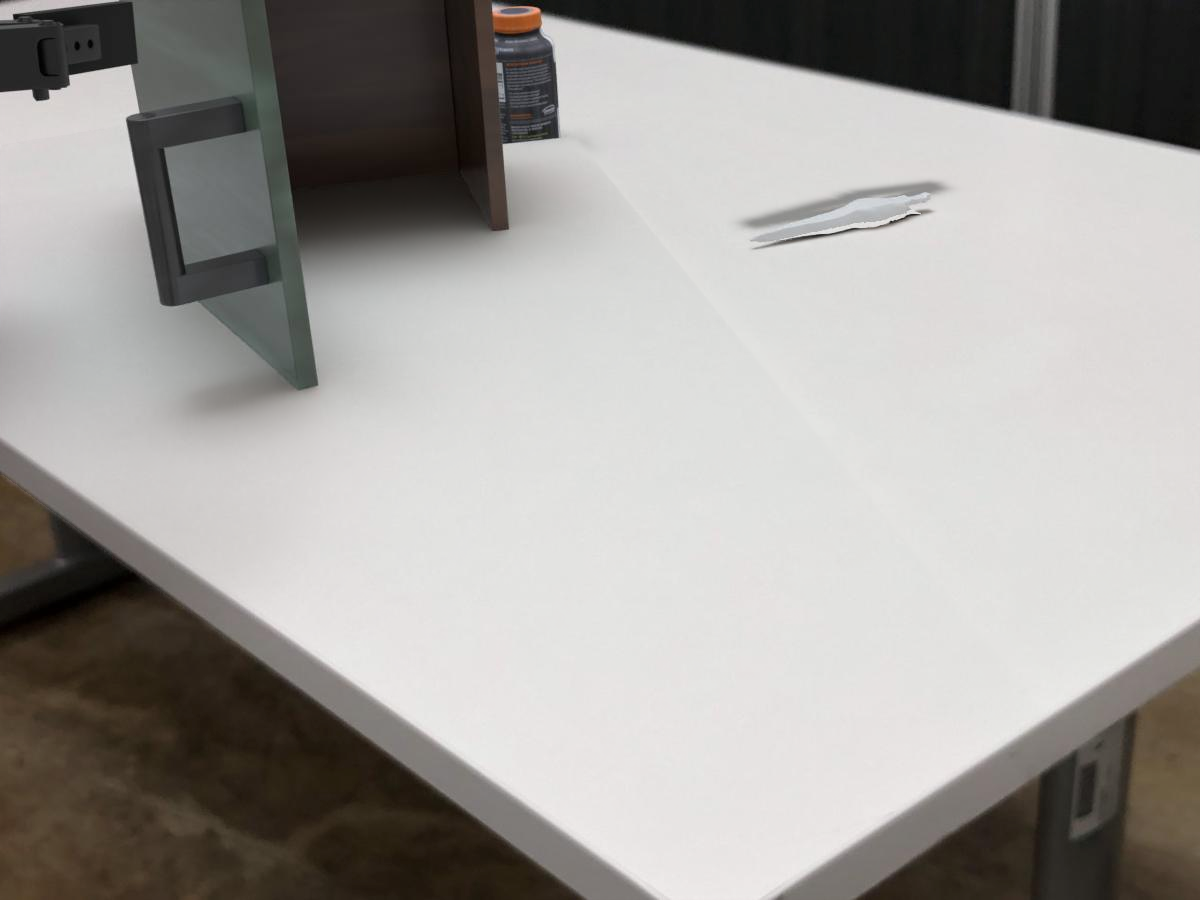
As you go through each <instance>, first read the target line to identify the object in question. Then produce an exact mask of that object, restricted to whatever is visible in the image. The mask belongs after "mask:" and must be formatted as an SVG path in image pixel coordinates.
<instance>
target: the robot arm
mask: <svg viewBox="0 0 1200 900" xmlns="http://www.w3.org/2000/svg"><path fill="white" fill-rule="evenodd" d="M132 64H138V56H137V45H136V34H135V24H134V13H133V2H126V1H119V0H117V1H116V0H115V1H108V2H100V3H92V4H83V5H75V6H68V7H67V6H65V7H59V8H50V9H43V10H35V11H34V10H33V11H27V12H19V13H12V19H0V93H10V92H11V93H12V92H22V91H31V94H32V98H33V99H34V101H35V102H43V101H49V100H50V98H51V97H50V91H60V90H62V89H66V88H68V87H70V86H71V81H70V76H75V75H81V74H86V73H92V72H97V71H98V72H99V71H102V70H103V71H104V70H108V69H114V68H120V67H126V66H131V65H132Z"/></svg>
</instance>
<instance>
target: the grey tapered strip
mask: <svg viewBox="0 0 1200 900" xmlns="http://www.w3.org/2000/svg"><path fill="white" fill-rule="evenodd" d="M928 201H931V193H929V192H926V191H923V192H922V193H920V194H919V193H918V194H916V195H911V196H909V195H905V194H903V195H899V196H890V197H885V198H883V197H863V198H857V199H854V200H851V202H849V203H847V204H846V205H843V206H841V207H839V208H836V209H833V210H831V211H828V212H823V213H821V214H817V215H815V216H812V217H808V218H804V219H800V220H797V221H793V222H791V223H787V224H784V225H781V226H777V227H775V228H773V229H769V230H766V231H764V232H761V233H758V234H756V235H754V236H753V237H751V238H749V241H750V242H754V243H771V242H770V241H773V242H778V241H777V240H780V239H784V238H790V237H794V236H798V235H802V234H807V233H811V232H818V231H822V230H827V229H830V228H832V229H833V228H836V227H841V226H846V225H850V224H853V223H861V222H864V223H866V222H876V221H882V220H886V219H888V218H890V217H893V216H896V215H901V214H904V213H905V214H906V213H907V211H909V210H911V209H912V208H911V207H910V206H914V205H919V204H925V203H927V202H928ZM774 240H776V241H774Z"/></svg>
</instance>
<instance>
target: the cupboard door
mask: <svg viewBox="0 0 1200 900" xmlns="http://www.w3.org/2000/svg"><path fill="white" fill-rule="evenodd" d="M118 1H126V2H133V13H134V24H135V34H136V45H137V56H138V64H132V65H130V68H131V69H130V70H131V74H132V79H133V84H134V90H135V95H136V101H137V107H138V113H133V114H130V115H127V117H126V118H125V123H126V129H127V135H128V139H129V145H130V150H131V156H132V161H133V167H134V171H135V177H136V182H137V187H138V192H139V193H138V194H139V197H140V204H141V210H142V214H143V219H144V220H143V221H144V226H145V230H146V236H147V240H148V246H149V251H150V257H151V262H152V263H151V264H152V267H153V272H154V273H153V274H154V278H155V284H156V289H157V295H158V299H159V303H160V304H161V306H163V307H179V306H184V305H187V304H192V303H196V302H198V303H199V304H200V305H202V307H203V308H205V310H207V311H208V312H209V313H210V314H211V315H212V316H213V317H215V318H216V319H217V320H218V321H219V322H220V323H222V324H223V325H224V326H225V327H226V328H227V329H229V330H230V332H232V333H233V334H234V335H235V336H236V337H238V338H239V340H241V342H243V343H244V344H245V345H246V346H248V347H249V348H250V349H251V350H252V351H253V352H254V353H255V354H256V355H257V356H258V357H260V358H261V359H262V360H263V361H264V362H265V363H267V364H268V365H269V366H270V367H271V368H272V369H274V371H276V372H277V373H278V374H279V375H280V376H281V377H282V378H283V379H285V380H286V381H287V382H288V383H289V384H290V385H291V386H293V387H294V388H295V389H296V390H297V391H302V390H303V391H304V390H306V389H310V388H313V387H317V386H319V380H318V373H317V366H316V359H315V352H314V351H315V350H314V344H313V337H312V329H311V323H310V316H309V309H308V301H307V294H306V287H305V279H304V273H303V266H302V259H301V252H300V245H299V239H298V229H297V223H296V217H295V209H294V203H293V195H292V190H291V187H290V180H289V173H288V166H287V159H286V152H285V145H284V138H283V131H282V123H281V116H280V109H279V102H278V95H277V88H276V81H275V74H274V67H273V60H272V52H271V45H270V38H269V31H268V24H267V17H266V10H265V3H264V0H118Z"/></svg>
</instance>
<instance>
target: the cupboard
mask: <svg viewBox="0 0 1200 900" xmlns="http://www.w3.org/2000/svg"><path fill="white" fill-rule="evenodd" d="M264 3H265V10H266V17H267V24H268V31H269V38H270V45H271V52H272V60H273V67H274V74H275V81H276V88H277V95H278V102H279V109H280V116H281V123H282V131H283V138H284V145H285V152H286V159H287V166H288V173H289V180H290V187H291V191H295V190H302V189H311V188H321V187H330V186H331V187H332V186H340V185H348V184H349V185H350V184H356V183H366V182H367V183H368V182H376V181H383V180H384V181H385V180H393V179H402V178H410V177H419V176H428V175H437V174H445V173H455V172H460V174H461V176H462V178H463V179H464V181H465V183H466V186H467V187H468V189H469V191H470V193H471V194H472V197H473V198H474V200H475V202H476V204H477V206H478V208H479V210H480V211H481V214H482V215H483V217H484V219H485V221H486V223H487V225H488V227H489V228H490V231H491V232H499V231H507V230H510V224H509V211H508V210H509V208H508V199H507V196H508V195H507V185H506V184H507V183H506V173H505V171H506V170H505V169H506V168H505V159H504V147H503V145H504V144H503V143H502V130H501V117H500V103H499V90H498V77H497V64H496V51H495V37H494V24H493V0H264Z"/></svg>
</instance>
